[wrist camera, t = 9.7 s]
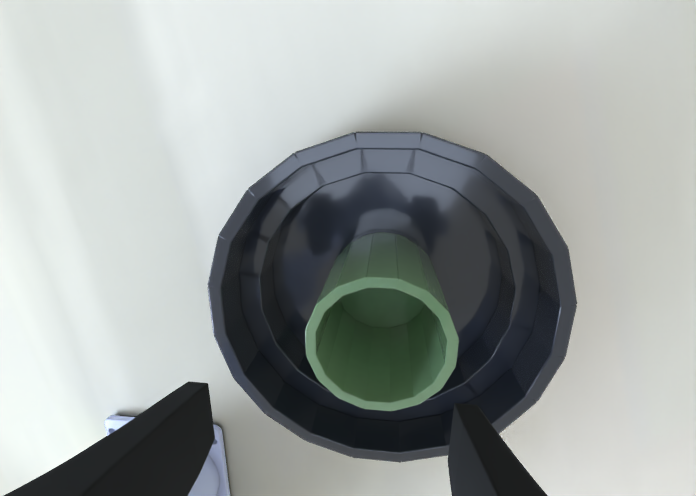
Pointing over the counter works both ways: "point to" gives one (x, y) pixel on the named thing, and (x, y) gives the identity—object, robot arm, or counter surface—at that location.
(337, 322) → the green cup
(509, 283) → the dark bowl
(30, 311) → the counter surface
